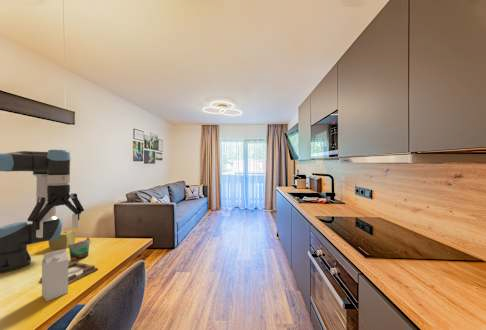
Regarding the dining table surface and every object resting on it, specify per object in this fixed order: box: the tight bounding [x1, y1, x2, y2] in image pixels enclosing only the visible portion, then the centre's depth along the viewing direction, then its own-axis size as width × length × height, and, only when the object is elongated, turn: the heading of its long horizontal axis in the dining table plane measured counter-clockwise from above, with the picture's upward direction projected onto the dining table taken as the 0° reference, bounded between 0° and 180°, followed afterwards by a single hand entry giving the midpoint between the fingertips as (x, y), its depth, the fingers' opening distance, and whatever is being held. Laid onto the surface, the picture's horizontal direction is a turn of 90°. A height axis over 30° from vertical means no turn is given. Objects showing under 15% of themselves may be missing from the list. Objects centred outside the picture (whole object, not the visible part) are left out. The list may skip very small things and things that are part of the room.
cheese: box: [48, 229, 76, 250], centre depth 142 cm, size 10×11×10 cm
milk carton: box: [41, 248, 69, 302], centre depth 89 cm, size 7×7×19 cm
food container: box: [67, 237, 92, 262], centre depth 125 cm, size 12×6×10 cm, turn 168°
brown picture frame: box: [40, 261, 99, 286], centre depth 105 cm, size 17×16×2 cm
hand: (58, 232), depth 91 cm, fingers open, 13 cm apart
